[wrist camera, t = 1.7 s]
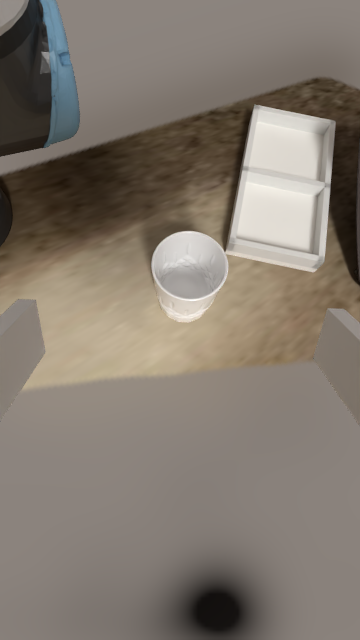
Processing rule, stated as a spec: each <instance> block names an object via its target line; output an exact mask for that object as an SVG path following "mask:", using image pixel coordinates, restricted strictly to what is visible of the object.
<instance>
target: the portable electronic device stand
mask: <svg viewBox="0 0 360 640" xmlns="http://www.w3.org/2000/svg"><path fill="white" fill-rule="evenodd" d="M356 249H357V267H358V268H357V269H356V270H355V271H354V274H356V275H357V279H358V280H359V282H360V140H359V154H358V170H357V198H356Z"/></svg>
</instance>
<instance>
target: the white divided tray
mask: <svg viewBox="0 0 360 640" xmlns="http://www.w3.org/2000/svg"><path fill="white" fill-rule="evenodd" d="M335 124H336V121H333V120H328V119H323V118H318V117H313V116H308V115H303V114H298V113H293V112H288V111H283V110H278V109H273V108H268V107H263V106H259V105H254V108H253V112H252V115H251V119H250V122H249V127H248V133H247V138H246V143H245V149H244V154H243V160H242V165H241V170H240V176H239V181H238V186H237V192H236V197H235V202H234V208H233V213H232V218H231V224H230V229H229V234H228V240H227V245H226V251H225V254H229V255H234V256H238V257H243V258H248V259H253V260H257V261H262V262H267V263H272V264H276V265H281V266H286V267H291V268H295V269H300V270H305V271H310V272H315V271H316V270H317V269H318V268H319V267H320V266H321V265H322V264H323V263H324V260H325V247H326V235H327V223H328V210H329V198H330V186H331V173H332V161H333V149H334V136H335Z"/></svg>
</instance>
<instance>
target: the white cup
mask: <svg viewBox="0 0 360 640" xmlns="http://www.w3.org/2000/svg"><path fill="white" fill-rule="evenodd" d="M151 268H152V274H153V279H154V285H155V289H156V293H157V297H158V300H159V302H160V307H161V309H162V310H163V311H164V313H165V314H166V315H167V317H169V318H171V319H173V320H175V321H177V322H192V321H194V320H196V319H199V318H200V317H201V316H202V315H203V314H204V313H205V312H206V311H207V309H208V308H209V307H210V305H211V304H212V302H213V301H214V299H215V297H216V296H217V294H218V292H219V290H220V289H221V287H222V285H223V284H224V282H225V280H226V277H227V273H228V261H227V257H226V254H225V252H224V250H223V249H222V247H221V246H220V245H219V244H218V243H217V242H216V241H215V240H214V239H213V238H211V237H210V236H208V235H206V234H203V233H200V232H196V231H181V232H177V233H174V234H172V235H170V236H168V237H166V238H165V239H164V240H162V241H161V242H160V243H159V245H158V246H157V247H156V249H155V251H154V253H153V256H152V261H151Z"/></svg>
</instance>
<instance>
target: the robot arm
mask: <svg viewBox="0 0 360 640" xmlns="http://www.w3.org/2000/svg"><path fill="white" fill-rule="evenodd" d="M79 122H80V111H79V101H78V94H77V88H76V82H75V76H74V71H73V67H72V64H71V62H70V54H69V50H68V44H67V38H66V34H65V30H64V27H63V22H62V19H61V15H60V12H59V8H58V5H57V2H56V0H0V157H1V156H5V155H10V154H15V153H20V152H24V151H29V150H34V149H38V148H46V147H48V146H50V144H53V143H57V142H60V141H63V140H66V139H69V138H71V137H73V136H74V135H75V134H76V132H77V130H78V128H79ZM11 223H12V209H11V205H10V202H9V200H8V198H7V196H6V195H5V194H4V192H3V191H2V189H1V188H0V246H1V245H2V243H3V242H4V240H5V239H6V237H7V235H8V233H9V230H10V227H11ZM44 354H45V346H44V341H43V336H42V330H41V325H40V320H39V314H38V309H37V304H36V300H25V299H18V300H17V301H16V302H15V303H14V304H12V305H11V306H10V307H9V308H8V309H7V310H6V311H5V312H4V313H3V314H2V315H1V316H0V421H1V420H2V418H3V416H4V415H5V413H6V412H7V410H8V409H9V407H10V406H11V404H12V403H13V401H14V400H15V398H16V397H17V395H18V394H19V392H20V391H21V389H22V387H23V386H24V384H25V383H26V381H27V380H28V378H29V377H30V375H31V374H32V372H33V371H34V369H35V368H36V366H37V364H38V363H39V361H40V360H41V358H42V357H43V355H44ZM313 359H314V361H315V362H316V363H317V365H318V366H319V368H320V369H321V371H322V372H323V374H324V375H325V376H326V378H327V379H328V381H329V382H330V384H331V385H332V387H333V388H334V390H335V391H336V393H337V394H338V395H339V397H340V398H341V400H342V401H343V403H344V404H345V406H346V407H347V409H348V410H349V411H350V413H351V414H352V416H353V417H354V419H355V420H356V422H357V423H358V425H359V426H360V323H359V322H358V321H357V320H356V319H354V318H353V317H352V316H351V315H350V314H349V313H348V312H347V311H346V310H344V309H327V312H326V315H325V319H324V322H323V326H322V329H321V333H320V336H319V340H318V343H317V347H316V350H315V354H314V357H313Z"/></svg>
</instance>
